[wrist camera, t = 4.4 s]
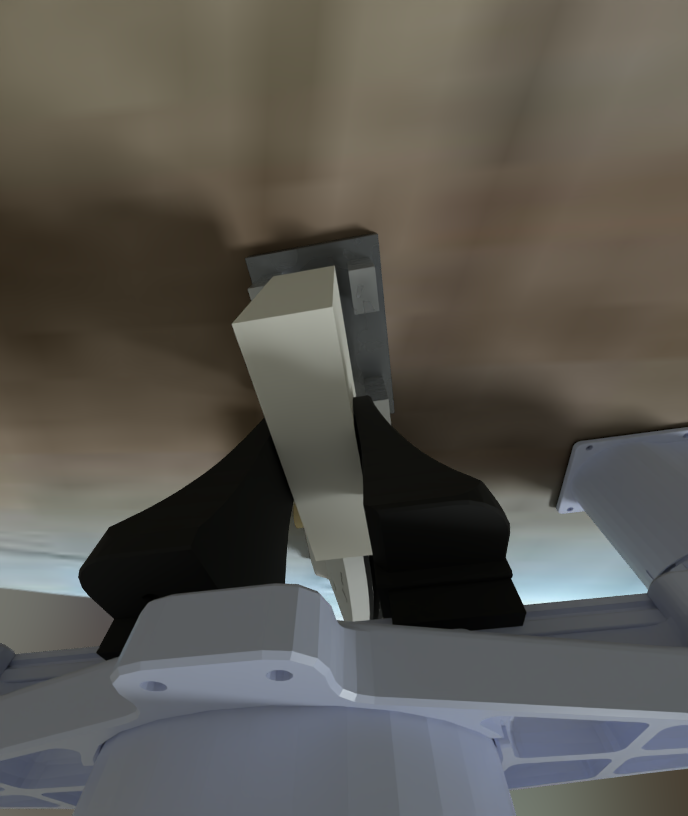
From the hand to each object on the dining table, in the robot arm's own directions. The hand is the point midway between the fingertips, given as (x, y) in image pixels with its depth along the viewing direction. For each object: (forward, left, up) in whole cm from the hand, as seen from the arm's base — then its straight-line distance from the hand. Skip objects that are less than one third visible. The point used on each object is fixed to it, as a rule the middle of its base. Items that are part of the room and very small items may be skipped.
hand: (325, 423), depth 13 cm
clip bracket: (0, 0, -9) cm, 9 cm away
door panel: (0, 0, -3) cm, 4 cm away
